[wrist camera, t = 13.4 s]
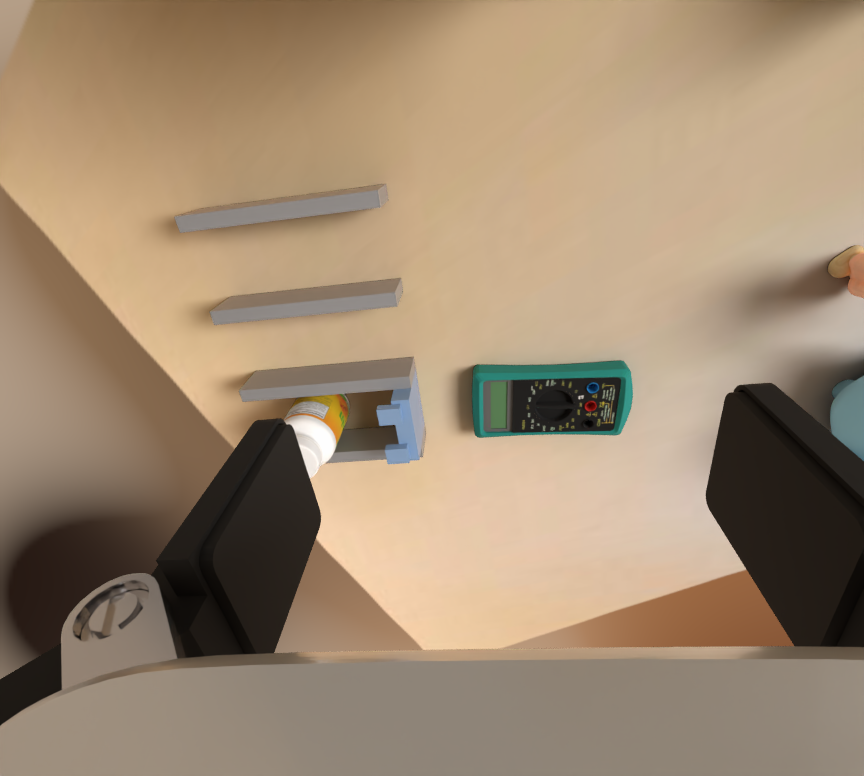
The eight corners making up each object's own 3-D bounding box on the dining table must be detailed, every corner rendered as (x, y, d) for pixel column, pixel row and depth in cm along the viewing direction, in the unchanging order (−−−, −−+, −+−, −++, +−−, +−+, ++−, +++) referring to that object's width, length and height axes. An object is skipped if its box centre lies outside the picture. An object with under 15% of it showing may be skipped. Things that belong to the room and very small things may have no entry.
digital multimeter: (619, 422, 48) (628, 439, 45) (472, 425, 49) (473, 442, 47) (629, 357, 44) (640, 371, 42) (471, 361, 46) (471, 376, 43)
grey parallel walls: (199, 208, 40) (153, 223, 34) (385, 183, 38) (370, 195, 32) (280, 443, 51) (256, 485, 45) (425, 433, 49) (420, 475, 44)
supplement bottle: (347, 430, 50) (323, 493, 42) (296, 419, 50) (262, 480, 41) (354, 387, 47) (330, 444, 39) (301, 375, 47) (265, 430, 39)
